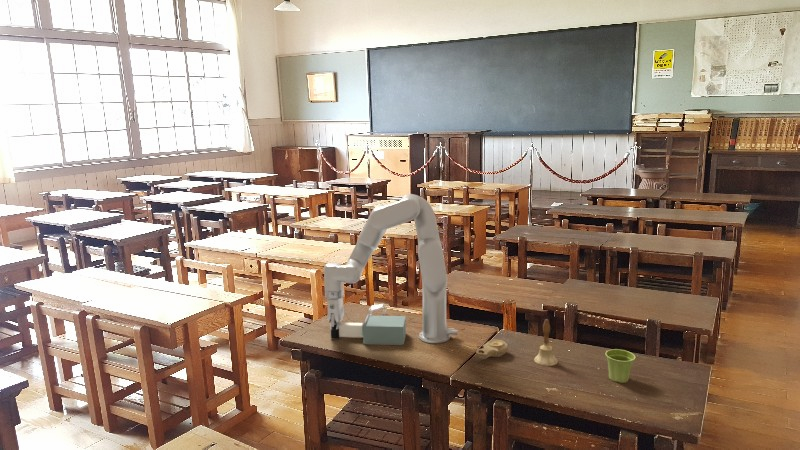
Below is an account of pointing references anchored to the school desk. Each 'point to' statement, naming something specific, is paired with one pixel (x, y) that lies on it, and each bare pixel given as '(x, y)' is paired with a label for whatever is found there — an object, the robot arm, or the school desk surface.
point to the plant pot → (619, 364)
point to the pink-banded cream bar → (349, 329)
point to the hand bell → (546, 349)
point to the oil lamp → (492, 349)
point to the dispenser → (384, 330)
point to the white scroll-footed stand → (377, 308)
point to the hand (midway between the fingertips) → (336, 336)
